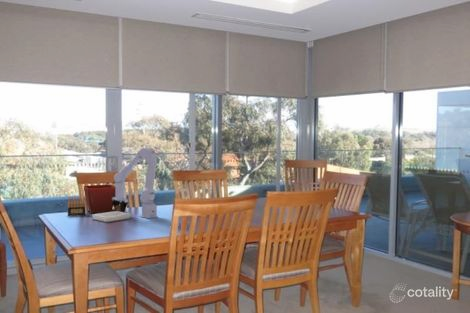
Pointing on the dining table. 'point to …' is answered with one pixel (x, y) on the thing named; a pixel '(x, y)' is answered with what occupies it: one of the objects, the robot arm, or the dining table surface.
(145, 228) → the dining table surface
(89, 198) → the plant pot
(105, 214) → the tray
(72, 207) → the ammunition clip
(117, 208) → the walnut block
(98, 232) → the dining table surface
